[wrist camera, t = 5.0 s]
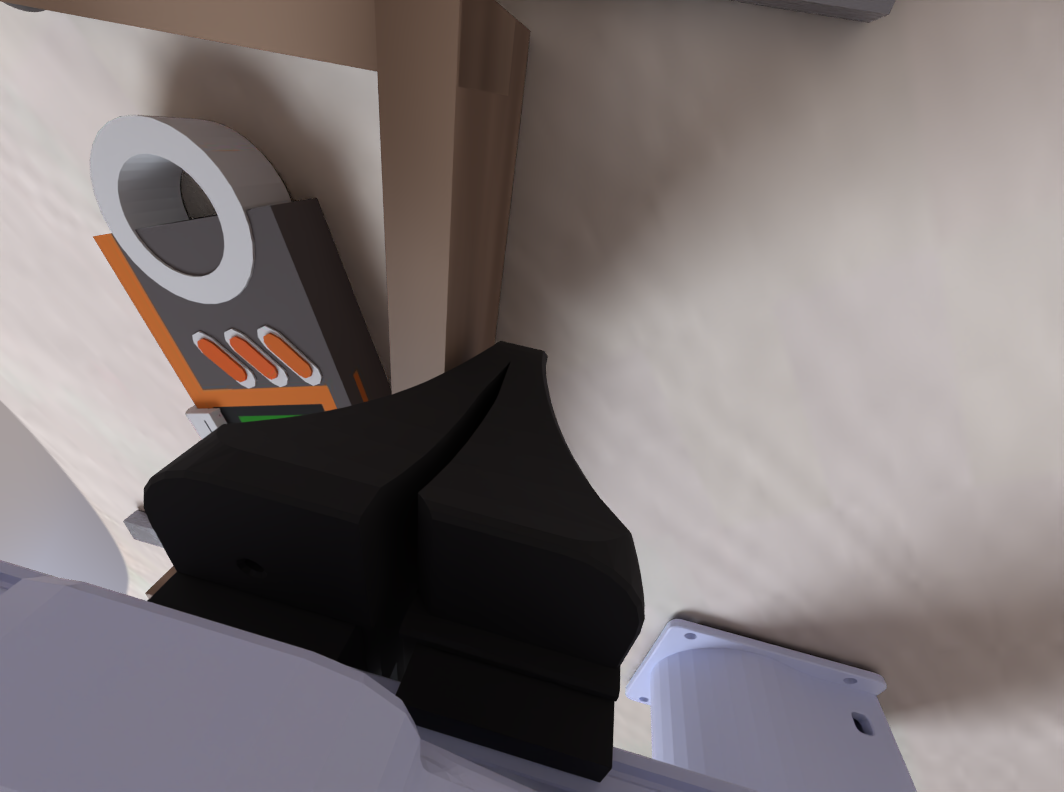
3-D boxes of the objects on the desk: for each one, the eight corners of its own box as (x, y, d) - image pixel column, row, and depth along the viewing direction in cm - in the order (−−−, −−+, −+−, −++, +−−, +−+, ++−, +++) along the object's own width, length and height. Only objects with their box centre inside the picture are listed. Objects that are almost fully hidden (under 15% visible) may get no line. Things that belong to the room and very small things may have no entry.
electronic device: (208, 86, 9) (407, 561, 16) (299, 100, 12) (437, 506, 19) (6, 143, 11) (265, 550, 18) (122, 144, 13) (310, 501, 21)
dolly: (531, 25, 9) (461, -40, 5) (465, 598, 22) (431, 695, 18) (-7, -68, 10) (-377, -176, 6) (231, 531, 23) (153, 610, 19)
